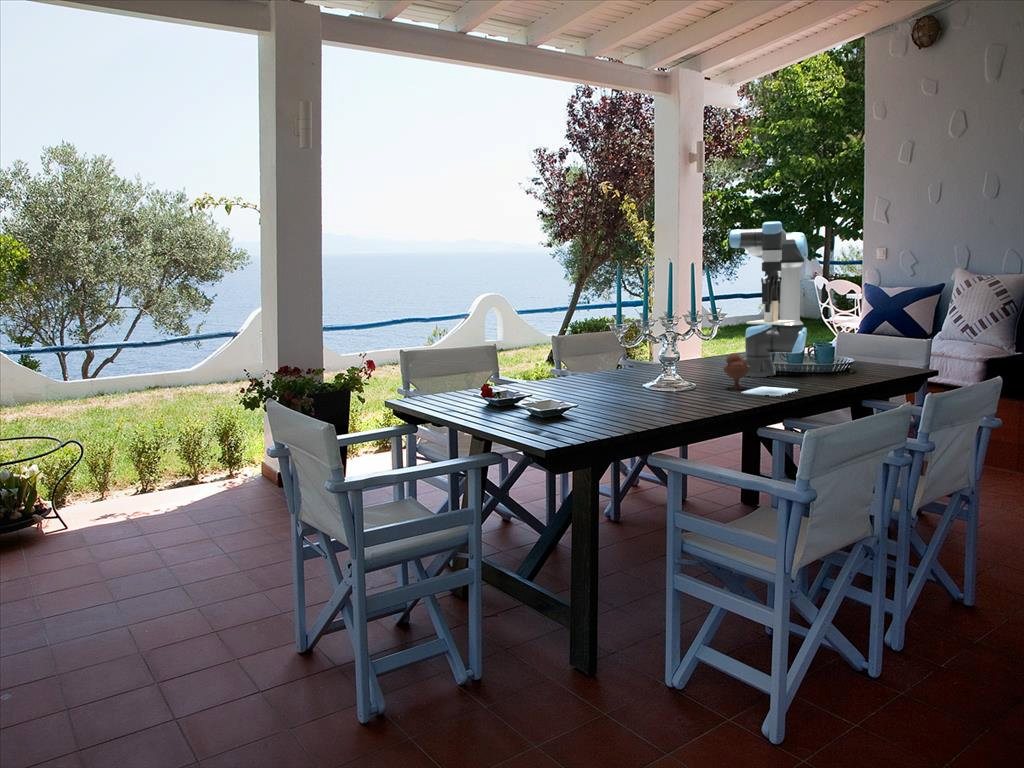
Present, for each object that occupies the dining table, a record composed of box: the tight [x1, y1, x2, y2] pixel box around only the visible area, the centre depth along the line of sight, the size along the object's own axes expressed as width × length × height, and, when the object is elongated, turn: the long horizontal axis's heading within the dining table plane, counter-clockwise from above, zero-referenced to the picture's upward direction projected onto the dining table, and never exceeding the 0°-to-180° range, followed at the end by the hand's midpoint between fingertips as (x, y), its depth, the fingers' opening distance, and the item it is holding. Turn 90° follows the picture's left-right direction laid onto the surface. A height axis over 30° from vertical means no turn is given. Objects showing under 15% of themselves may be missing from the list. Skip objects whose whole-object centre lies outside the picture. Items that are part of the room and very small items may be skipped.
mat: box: [741, 386, 800, 397], centre depth 343 cm, size 18×16×1 cm
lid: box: [746, 301, 795, 326], centre depth 339 cm, size 14×14×9 cm
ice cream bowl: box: [722, 352, 750, 390], centre depth 355 cm, size 11×11×15 cm
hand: (771, 320), depth 339 cm, fingers closed on lid, 4 cm apart
